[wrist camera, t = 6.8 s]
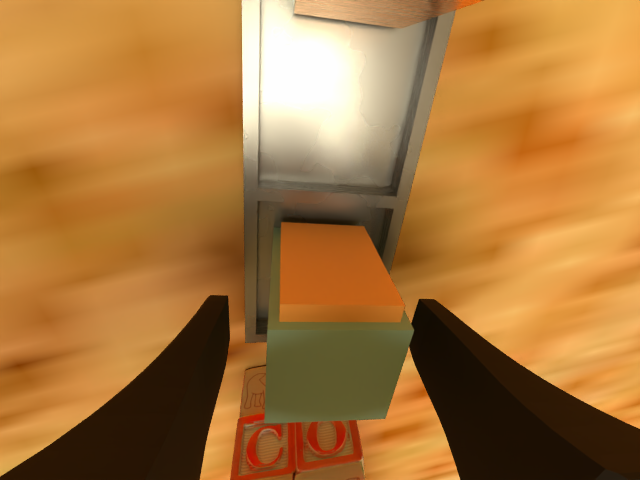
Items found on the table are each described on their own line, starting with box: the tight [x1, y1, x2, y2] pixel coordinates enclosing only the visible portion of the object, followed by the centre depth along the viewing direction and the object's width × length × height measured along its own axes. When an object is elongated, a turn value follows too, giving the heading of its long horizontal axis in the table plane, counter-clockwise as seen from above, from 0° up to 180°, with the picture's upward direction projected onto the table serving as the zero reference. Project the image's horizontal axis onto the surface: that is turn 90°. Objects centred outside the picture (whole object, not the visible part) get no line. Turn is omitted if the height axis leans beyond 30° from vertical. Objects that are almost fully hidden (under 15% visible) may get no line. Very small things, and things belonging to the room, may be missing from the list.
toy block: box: [264, 222, 414, 424], centre depth 12 cm, size 4×5×6 cm
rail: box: [242, 0, 483, 343], centre depth 10 cm, size 6×19×7 cm, turn 174°
